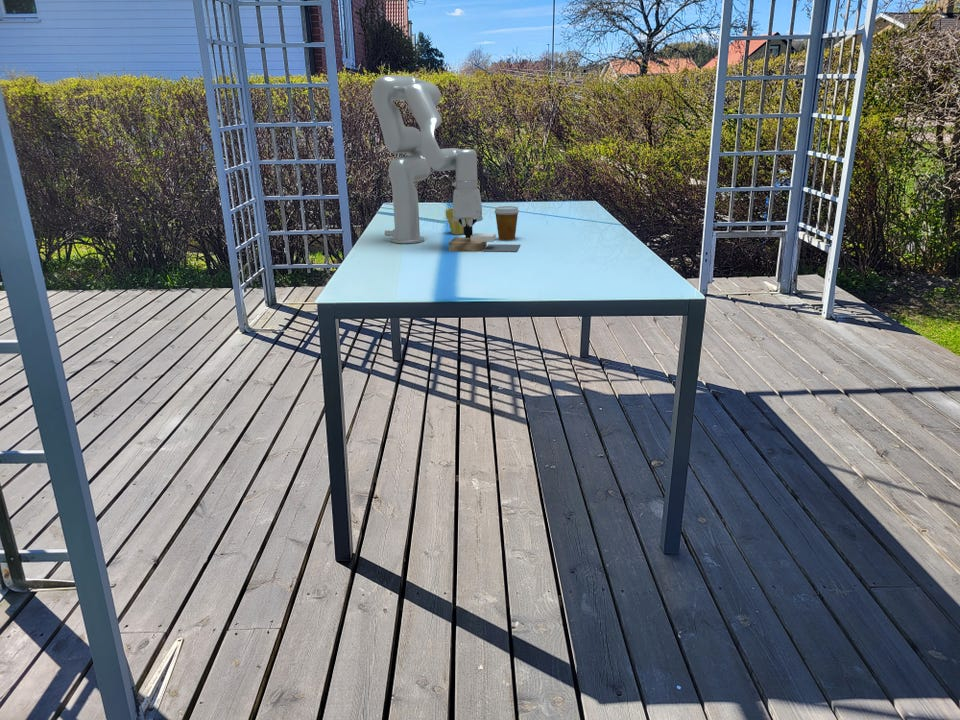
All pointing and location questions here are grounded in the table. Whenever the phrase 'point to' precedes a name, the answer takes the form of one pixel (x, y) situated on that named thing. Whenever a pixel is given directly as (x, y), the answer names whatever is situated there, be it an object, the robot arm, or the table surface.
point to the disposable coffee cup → (506, 222)
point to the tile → (483, 237)
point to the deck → (466, 244)
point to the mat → (501, 248)
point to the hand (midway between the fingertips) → (468, 237)
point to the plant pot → (455, 223)
